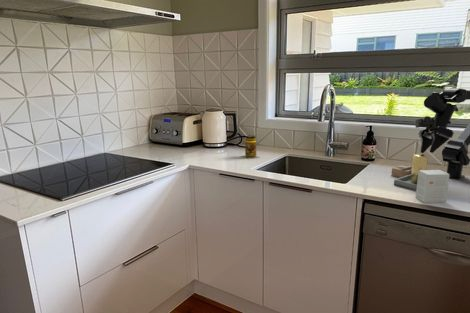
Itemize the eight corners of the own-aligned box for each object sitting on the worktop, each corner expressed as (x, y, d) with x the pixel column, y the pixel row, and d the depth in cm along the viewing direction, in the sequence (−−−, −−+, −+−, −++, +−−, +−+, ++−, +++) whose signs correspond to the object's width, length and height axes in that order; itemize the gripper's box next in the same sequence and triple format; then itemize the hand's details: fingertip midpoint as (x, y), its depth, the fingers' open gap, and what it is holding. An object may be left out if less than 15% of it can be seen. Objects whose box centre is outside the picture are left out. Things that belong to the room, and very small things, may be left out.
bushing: (411, 181, 139) (414, 153, 136) (425, 183, 136) (429, 154, 134) (409, 184, 135) (412, 155, 132) (423, 187, 132) (427, 157, 129)
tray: (409, 179, 144) (410, 174, 144) (440, 186, 134) (441, 181, 134) (393, 184, 137) (394, 179, 137) (424, 192, 127) (425, 187, 127)
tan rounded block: (401, 172, 154) (402, 162, 153) (416, 176, 149) (417, 165, 148) (390, 175, 149) (391, 165, 148) (405, 179, 144) (406, 169, 143)
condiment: (248, 159, 181) (248, 137, 178) (240, 156, 188) (240, 135, 185) (259, 157, 185) (260, 136, 182) (251, 154, 192) (251, 133, 189)
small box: (436, 197, 123) (440, 169, 121) (446, 202, 118) (450, 173, 115) (414, 197, 123) (418, 169, 121) (423, 203, 118) (427, 174, 115)
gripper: (414, 113, 147) (399, 145, 148) (432, 106, 129) (415, 144, 129) (439, 122, 145) (424, 155, 146) (461, 117, 127) (444, 155, 128)
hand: (426, 152), depth 138 cm, fingers open, 9 cm apart
